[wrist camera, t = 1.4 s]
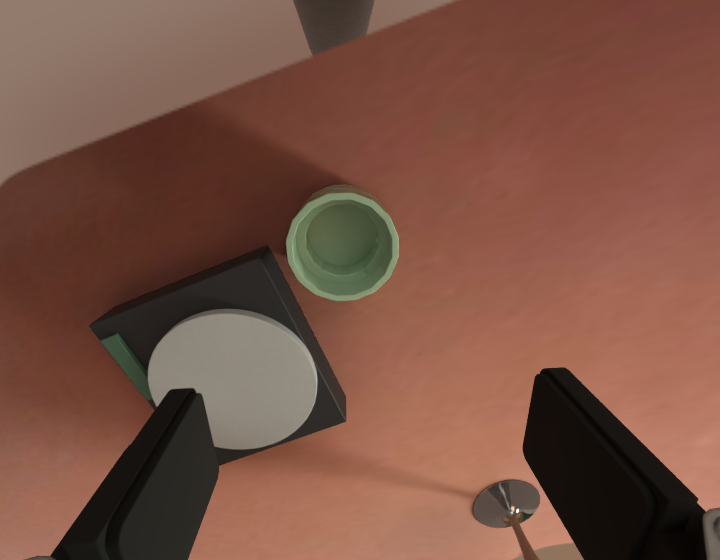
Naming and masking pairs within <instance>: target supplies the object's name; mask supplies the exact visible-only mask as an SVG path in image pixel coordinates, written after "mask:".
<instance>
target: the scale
mask: <svg viewBox="0 0 720 560" xmlns="http://www.w3.org/2000/svg"><path fill="white" fill-rule="evenodd" d="M89 327H90V328H91V330H92V331H93V332H94V333H95V335H96V336H97V337H98V339H99V340H100V342H101V343H102V344H103V346H104V347H105V348H106V349H107V351H108V352H109V353H110V355H111V356H112V357H113V358H114V360H115V361H116V362H117V363H118V365H119V366H120V367H121V368H122V370H123V371H124V372H125V374H126V375H127V376H128V377H129V379H130V380H131V381H132V382H133V384H134V385H135V386H136V388H137V389H138V390H139V391H140V393H141V394H142V395H143V396H144V398H145V399H146V400H147V401H148V402H149V403H150V405H151V406H152V407H153V408H154V410H156V408H157V407H158V405H159V404H160V402H161V401H162V400H163V398H164V397H165V395H166V394H167V392H168V391H169V390H171V389H181V388H194V389H195V390H196V393H201V394H202V396H203V400H204V404H205V409H206V413H207V417H208V422H209V426H210V430H211V435H212V439H213V443H214V448H215V452H216V456H217V461H218V465H222V464H225V463H228V462H231V461H234V460H237V459H240V458H242V457H245V456H248V455H251V454H254V453H257V452H260V451H263V450H265V449H268V448H271V447H274V446H277V445H280V444H283V443H286V442H289V441H291V440H294V439H297V438H300V437H303V436H306V435H309V434H312V433H315V432H317V431H320V430H323V429H326V428H329V427H332V426H335V425H338V424H340V423H343V422H346V396H345V394H344V392H343V390H342V388H341V386H340V384H339V382H338V380H337V378H336V377H335V375H334V373H333V371H332V369H331V367H330V365H329V363H328V361H327V359H326V357H325V355H324V353H323V351H322V349H321V347H320V345H319V343H318V341H317V339H316V337H315V336H314V334H313V332H312V330H311V328H310V326H309V324H308V322H307V320H306V318H305V316H304V314H303V312H302V310H301V308H300V306H299V304H298V302H297V300H296V298H295V296H294V295H293V293H292V291H291V289H290V287H289V285H288V283H287V281H286V279H285V277H284V275H283V273H282V271H281V269H280V267H279V265H278V263H277V261H276V259H275V257H274V255H273V254H272V252H271V250H270V248H269V246H268V245H266V246H264V247H261V248H259V249H256V250H254V251H251V252H249V253H246V254H244V255H241V256H239V257H237V258H234V259H232V260H229V261H227V262H224V263H222V264H219V265H217V266H214V267H212V268H209V269H207V270H204V271H202V272H199V273H197V274H194V275H192V276H190V277H187V278H185V279H182V280H180V281H177V282H175V283H172V284H170V285H167V286H165V287H162V288H160V289H157V290H155V291H152V292H150V293H147V294H145V295H143V296H140V297H138V298H135V299H133V300H130V301H128V302H125V303H123V304H120V305H118V306H115V307H113V308H112V309H111V310H109V311H108V312H107V313H105V314H104V315H103V316H101V317H100V318H99V319H97V320H96V321H94V322H93V323H92V324H90V325H89Z"/></svg>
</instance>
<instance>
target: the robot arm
mask: <svg viewBox="0 0 720 560" xmlns="http://www.w3.org/2000/svg"><path fill="white" fill-rule="evenodd" d="M523 453H524V457H525V459H526V461H527V463H528V465H529V466H530V468H531V470H532V471H533V473H534V475H535V477H536V478H537V480H538V482H539V483H540V485H541V487H542V489H543V490H544V492H545V494H546V495H547V497H548V499H549V500H550V502H551V504H552V506H553V507H554V509H555V511H556V512H557V514H558V516H559V518H560V519H561V521H562V523H563V524H564V526H565V528H566V529H567V531H568V533H569V535H570V536H571V538H572V540H573V541H574V543H575V545H576V547H577V548H578V550H579V552H580V553H581V555H582V557H583V558H584V560H720V508H715V509H709V510H708V511H707V512H706V511H705V510H704V509H703V508H702V507H701V506H700V505H699V504H698V503H697V501H698V498H697V497H696V496H695V495H694V494H693V493H692V492H691V491H690V490H689V489H688V488H687V487H686V486H685V485H684V484H683V483H682V482H681V481H680V480H679V479H678V478H677V477H676V476H675V475H674V474H673V473H672V472H671V471H670V470H669V469H668V468H667V467H666V466H665V465H664V464H663V463H662V462H661V461H660V460H659V459H658V458H657V457H656V456H655V455H654V454H653V453H652V452H651V451H650V450H649V449H648V448H647V447H646V446H645V445H644V444H643V443H642V442H641V441H640V440H638V439H637V438H636V437H635V436H634V435H633V434H632V433H631V432H630V431H629V430H628V429H627V428H626V427H625V426H624V425H623V424H622V423H621V422H620V421H619V420H618V419H617V418H616V417H615V416H614V415H613V414H612V413H611V412H610V411H609V410H608V409H607V408H606V407H605V406H604V405H603V404H602V403H601V402H600V401H599V400H598V399H597V398H596V397H595V396H594V395H593V394H592V393H591V392H590V391H589V390H588V389H587V388H586V387H585V386H584V385H583V384H582V383H581V382H580V381H579V380H578V379H577V378H576V377H575V376H574V375H573V374H572V373H571V372H570V371H569V370H568V369H566V368H545V369H542V370H541V372H540V374H537V375H536V376H535V380H534V385H533V391H532V397H531V402H530V408H529V414H528V419H527V425H526V431H525V436H524V442H523ZM218 473H219V465H218V461H217V456H216V452H215V448H214V443H213V439H212V435H211V430H210V426H209V422H208V417H207V413H206V409H205V404H204V400H203V396H202V394H201V393H196V390H195V389H194V388H181V389H171V390H169V391H168V392H167V394H166V395H165V397H164V398H163V400H162V401H161V402H160V404H159V405H158V407H157V408H156V410H155V411H154V412H153V414H152V415H151V417H150V418H149V420H148V421H147V422H146V424H145V425H144V427H143V428H142V430H141V431H140V432H139V434H138V435H137V437H136V438H135V440H134V441H133V442H132V444H131V445H129V446H128V448H127V449H126V450H125V451H124V452H123V454H122V455H121V457H120V458H119V459H118V461H117V462H116V464H115V465H114V466H113V468H112V469H111V471H110V472H109V474H108V475H107V476H106V478H105V479H104V481H103V482H102V483H101V485H100V486H99V488H98V489H97V491H96V492H95V493H94V495H93V496H92V498H91V499H90V500H89V502H88V503H87V505H86V506H85V507H84V509H83V510H82V512H81V513H80V515H79V516H78V517H77V519H76V520H75V522H74V523H73V524H72V526H71V527H70V529H69V530H68V531H67V533H66V534H65V536H64V537H63V539H62V540H61V541H60V543H59V544H58V546H57V547H56V548H55V550H54V551H53V553H52V554H51V556H36V557H32V558H28V559H25V560H188V557H189V555H190V552H191V549H192V547H193V544H194V541H195V539H196V536H197V533H198V530H199V528H200V525H201V522H202V520H203V517H204V514H205V512H206V509H207V506H208V503H209V501H210V498H211V495H212V493H213V490H214V487H215V484H216V482H217V479H218Z"/></svg>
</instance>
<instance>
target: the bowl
mask: <svg viewBox="0 0 720 560" xmlns="http://www.w3.org/2000/svg"><path fill="white" fill-rule="evenodd" d="M398 247H399V237H398V234H397V232H396V229H395V227H394V224H393V222H392V220H391V217H390V216H389V214H388V213H387V211H386V210H385V208H384V207H383V205H382V204H381V203H380V202H379V201H378V200H377V199H376V198H375V197H374V196H373V195H372V194H371V193H370V192H368V191H366V190H363V189H361V188H358V187H356V186H353V185H331V186H328V187H325V188H323V189H321V190H319V191H317V192H315V193H313V194H312V195H311V196H310V197H309V198H308V199H307V200H306V201H305V203H304V204H303V205H302V206H301V207H300V209H299V210H298V212H297V214H296V215H295V217H294V218H293V220H292V223H291V226H290V229H289V232H288V235H287V238H286V250H287V259H288V264H289V266H290V267H291V269H292V271H293V273H294V275H295V276H296V278H297V280H298V281H299V282H300V283H301V284H302V285H304V286H305V287H306V288H307V289H308V290H310V291H311V292H312V293H313V294H315V295H318V296H321V297H324V298H327V299H330V300H333V301H347V300H357V299H359V298H362V297H364V296H367V295H369V294H371V293H374V292H375V291H376V290H377V289H378V288H379V287H381V286H382V285H383V284H384V283H385V282H386V281H387V280H388V279H389V278H390V276H391V274H392V271H393V269H394V267H395V265H396V262H397V260H398Z"/></svg>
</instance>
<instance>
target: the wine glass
mask: <svg viewBox="0 0 720 560" xmlns="http://www.w3.org/2000/svg"><path fill="white" fill-rule="evenodd" d="M539 503H540V495H539V492H538V490H537V489H536V488H535V487H534V486H533V485H531V484H529V483H527V482H524V481H518V480H509V481H503V482H499V483H496V484H494V485H492V486H490V487H488V488H487V489H485V490H484V491H483V492H481V493H480V494H479V496H478V497H477V498H476V500H475V502H474V506H473V512H474V515H475V517H476V519H477V520H478V521H479V522H481V523H482V524H484V525H486V526H489V527H494V528H505V527H511V526H512V527H513V529H514V532H515V534H516V537H517V539H518V542H519V545H520V548H521V551H522V554H523V557H524V560H539V558H538V557H537V555H536V554H535V552H534V550H533V549H532V547H531V545H530V544H529V542H528V540H527V538H526V536H525V535H524V533H523V530H522V528H521V526H520V523H522V522H524V521H525V520H527V519H528V518H530V517H531V516H532V515H533V514H534V513H535V511H536V510H537V508H538V506H539Z"/></svg>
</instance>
